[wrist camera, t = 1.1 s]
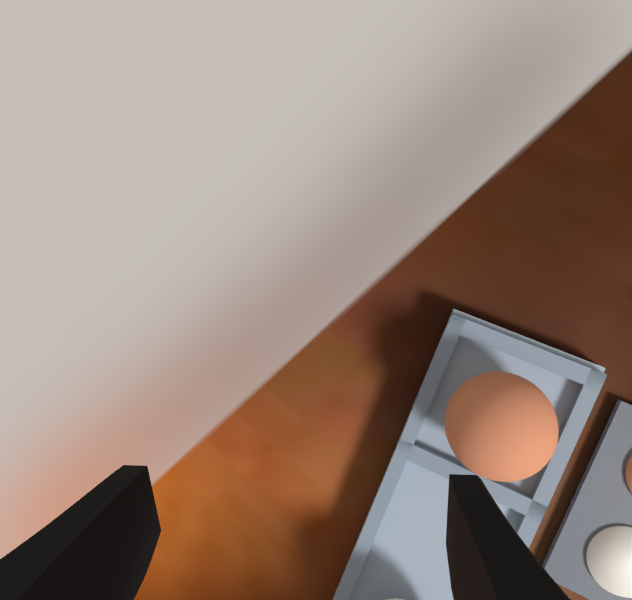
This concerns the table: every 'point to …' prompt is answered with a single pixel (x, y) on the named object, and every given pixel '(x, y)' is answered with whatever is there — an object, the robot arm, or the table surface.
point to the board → (439, 461)
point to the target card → (599, 520)
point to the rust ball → (501, 426)
